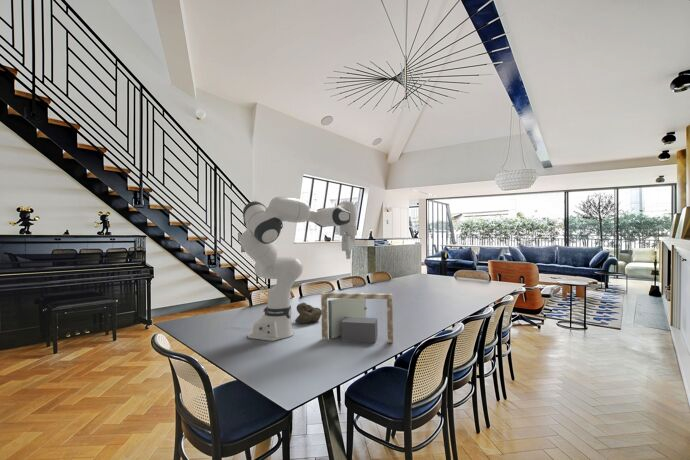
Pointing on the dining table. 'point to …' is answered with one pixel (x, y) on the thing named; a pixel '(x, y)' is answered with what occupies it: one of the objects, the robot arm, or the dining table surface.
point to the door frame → (356, 296)
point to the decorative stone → (307, 313)
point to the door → (344, 312)
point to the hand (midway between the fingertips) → (348, 258)
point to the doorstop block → (359, 329)
